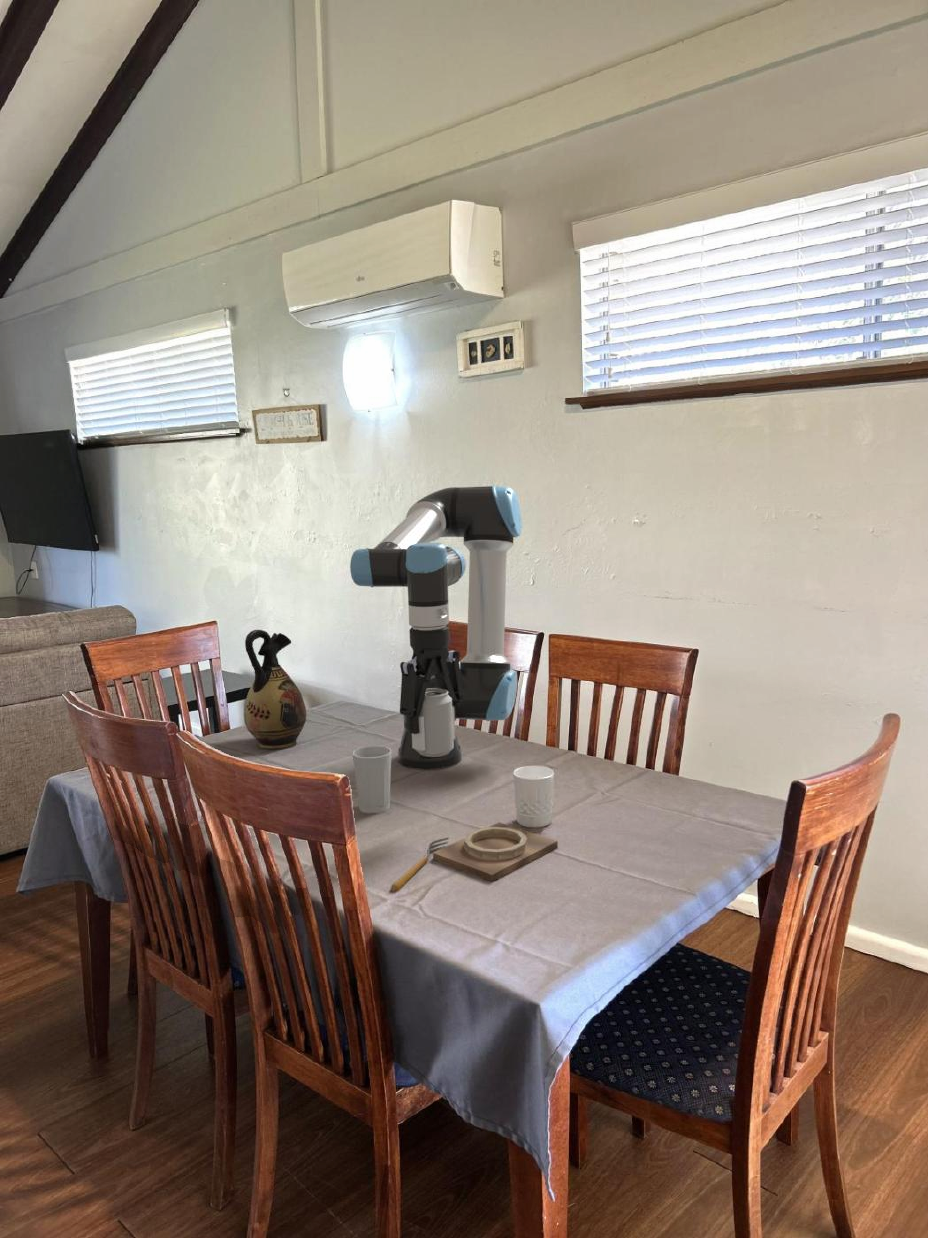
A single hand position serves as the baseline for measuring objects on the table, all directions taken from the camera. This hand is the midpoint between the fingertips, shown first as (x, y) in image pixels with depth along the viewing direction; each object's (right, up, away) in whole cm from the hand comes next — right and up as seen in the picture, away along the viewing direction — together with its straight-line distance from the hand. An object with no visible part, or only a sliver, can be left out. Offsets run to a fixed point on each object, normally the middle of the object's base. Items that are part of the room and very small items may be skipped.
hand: (434, 743), depth 177 cm
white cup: (+19, -16, +4) cm, 25 cm away
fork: (-2, -20, -15) cm, 25 cm away
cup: (-13, -15, +13) cm, 24 cm away
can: (0, -2, 0) cm, 2 cm away
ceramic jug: (-43, -8, +59) cm, 73 cm away
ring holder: (+11, -18, -10) cm, 24 cm away
